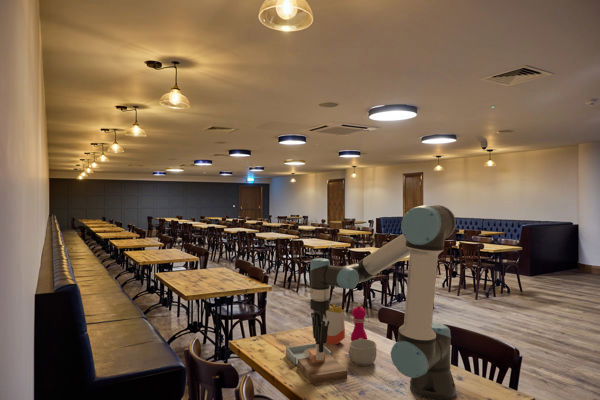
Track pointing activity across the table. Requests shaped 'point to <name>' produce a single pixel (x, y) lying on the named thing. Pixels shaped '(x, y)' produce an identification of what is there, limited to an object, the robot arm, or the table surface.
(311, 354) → the orange square block
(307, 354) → the cream square block
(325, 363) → the walnut board
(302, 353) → the tray
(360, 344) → the teacup
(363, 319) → the pepper mill
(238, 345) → the table surface
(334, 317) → the french fries container
